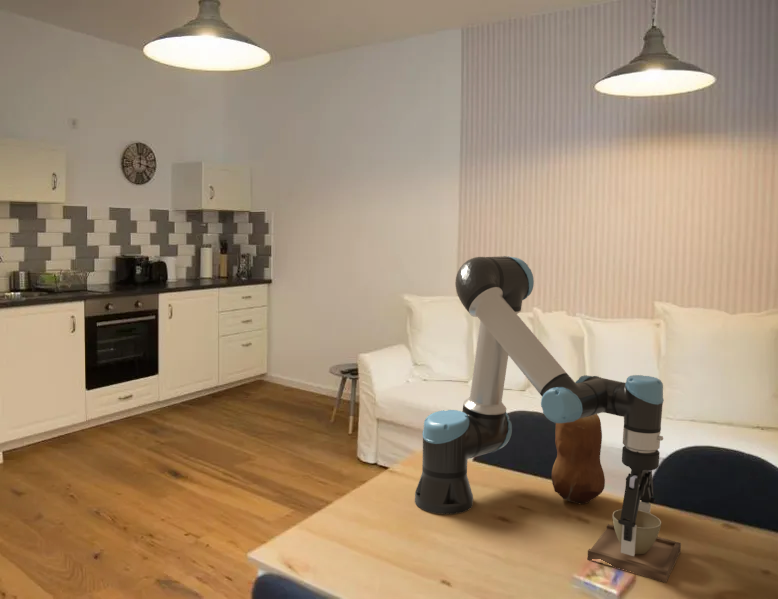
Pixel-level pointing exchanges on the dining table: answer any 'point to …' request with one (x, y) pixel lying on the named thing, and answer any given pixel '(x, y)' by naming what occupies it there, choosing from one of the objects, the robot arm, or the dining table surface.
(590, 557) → the walnut board
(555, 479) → the butternut squash
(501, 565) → the dining table surface
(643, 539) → the flower pot
